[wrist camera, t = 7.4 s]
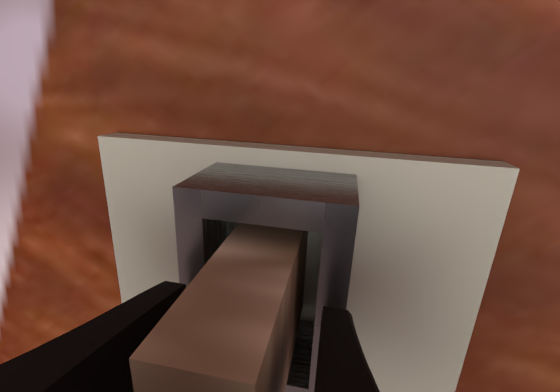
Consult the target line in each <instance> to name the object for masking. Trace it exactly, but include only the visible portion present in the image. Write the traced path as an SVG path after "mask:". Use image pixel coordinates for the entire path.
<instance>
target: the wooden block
mask: <svg viewBox="0 0 560 392" xmlns="http://www.w3.org/2000/svg"><path fill="white" fill-rule="evenodd" d="M307 241H308V231H303V230H295V229H286V228H278V227H270V226H261V225H253V224H245V223H238V225H237V226H236V227H235V228H234V230H233V231H232V232H231V233H230V235H229V236H228V237H227V238H226V239H225V241H224V242H223V243H222V244H221V246H220V247H219V248H218V249H217V251H216V252H215V253H214V254H213V255H212V257H211V258H210V259H209V260H208V262H207V263H206V264H205V265H204V267H203V268H202V269H201V270H200V271H199V273H198V274H197V275H196V276H195V278H194V279H193V280H192V281H191V283H190V284H189V285H188V286H187V287H186V289H185V290H184V291H183V292H182V294H181V295H180V296H179V297H178V299H177V300H176V301H175V302H174V303H173V305H172V306H171V307H170V308H169V310H168V311H167V312H166V313H165V315H164V316H163V317H162V318H161V319H160V321H159V322H158V323H157V324H156V326H155V327H154V328H153V329H152V331H151V332H150V333H149V334H148V335H147V337H146V338H145V339H144V340H143V342H142V343H141V344H140V345H139V347H138V348H137V349H136V350H135V351H134V353H133V354H132V355H131V356H130V358H129V362H130V369H131V376H132V383H133V390H134V392H285V389H286V384H287V380H288V375H289V370H290V365H291V360H292V356H293V351H294V346H295V341H296V336H297V332H298V327H299V322H300V317H301V312H302V308H303V295H304V282H305V268H306V255H307Z"/></svg>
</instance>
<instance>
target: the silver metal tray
mask: <svg viewBox="0 0 560 392" xmlns="http://www.w3.org/2000/svg"><path fill="white" fill-rule="evenodd" d="M172 189H173V203H174V217H175V230H176V244H177V258H178V271H179V283H182V284H186V287H187V286H188V285H189V284H190V283H191V281H192V280H193V279H194V278H195V276H196V275H197V274H198V273H199V271H200V270H201V269H202V268H203V267H204V265H205V264H206V263H207V262H208V260H209V259H210V258H211V257H212V255H213V254H214V253H215V252H216V251H217V249H218V248H219V247H220V246H221V244H222V243H223V242H224V241H225V239H226V238H227V237H228V236H229V235H230V233H231V232H232V231H233V230H234V228H235V227H236V226H237V225H238V223H245V224H253V225H261V226H270V227H278V228H286V229H295V230H303V231H311V232H319V233H323V235H322V246H321V257H320V268H319V279H318V290H317V301H316V312H315V322H314V321H308V320H302V319H300V322H299V327H298V332H297V336H296V341H295V346H294V351H293V356H292V360H291V365H290V370H289V375H288V380H287V384H286V389H285V392H314V388H315V378H316V368H317V358H318V348H319V338H320V327H321V319H322V311H323V306H325V307H332V308H338V309H344V310H346V307H347V300H348V292H349V284H350V276H351V268H352V261H353V253H354V245H355V237H356V229H357V222H358V214H359V196H358V186H357V175H356V174H345V173H333V172H322V171H310V170H299V169H287V168H276V167H265V166H253V165H242V164H230V163H219V162H216V163H214V164H212V165H210V166H209V167H207V168H205V169H203V170H201V171H200V172H198V173H196V174H194V175H192V176H191V177H189V178H187V179H185V180H184V181H182V182H180V183H178V184H176V185H175V186H173V187H172Z"/></svg>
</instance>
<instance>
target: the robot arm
mask: <svg viewBox="0 0 560 392" xmlns="http://www.w3.org/2000/svg"><path fill="white" fill-rule="evenodd" d="M185 289H186V284H182V283H176V282H169V281H164V282H162V283H160V284H157V285H155V286H153V287H151V288H150V289H148V290H146V291H144V292H142V293H140V294H138V295H136V296H135V297H133V298H131V299H129V300H127V301H125V302H124V303H122V304H120V305H118V306H116V307H114V308H113V309H111V310H109V311H107V312H105V313H103V314H101V315H100V316H98V317H96V318H94V319H92V320H90V321H88V322H87V323H85V324H83V325H81V326H79V327H77V328H75V329H73V330H71V331H69V332H67V333H65V334H63V335H61V336H59V337H57V338H55V339H53V340H51V341H49V342H47V343H45V344H43V345H41V346H39V347H37V348H35V349H33V350H31V351H29V352H27V353H24V354H22V355H20V356H18V357H16V358H14V359H11V360H9V361H7V362H5V363H2V364H0V392H134V390H133V383H132V376H131V369H130V362H129V358H130V356H131V355H132V354H133V353H134V351H135V350H136V349H137V348H138V347H139V345H140V344H141V343H142V342H143V340H144V339H145V338H146V337H147V335H148V334H149V333H150V332H151V331H152V329H153V328H154V327H155V326H156V324H157V323H158V322H159V321H160V319H161V318H162V317H163V316H164V315H165V313H166V312H167V311H168V310H169V308H170V307H171V306H172V305H173V303H174V302H175V301H176V300H177V299H178V297H179V296H180V295H181V294H182V292H183V291H184V290H185ZM314 392H380V391H379V389H378V386H377V384H376V382H375V379H374V377H373V375H372V373H371V370H370V368H369V366H368V363H367V361H366V358H365V355H364V353H363V350H362V347H361V345H360V342H359V339H358V336H357V333H356V330H355V326H354V322H353V318H352V314H351V313H350V312H349V311H348V310H344V309H338V308H332V307H325V306H323V311H322V319H321V327H320V338H319V348H318V358H317V368H316V378H315V388H314Z"/></svg>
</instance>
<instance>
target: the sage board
mask: <svg viewBox="0 0 560 392" xmlns="http://www.w3.org/2000/svg"><path fill="white" fill-rule="evenodd" d="M98 142H99V149H100V156H101V163H102V169H103V176H104V183H105V190H106V197H107V204H108V211H109V218H110V225H111V232H112V238H113V245H114V252H115V259H116V266H117V273H118V280H119V287H120V294H121V301H122V303H124V302H125V301H127V300H129V299H131V298H133V297H135V296H136V295H138V294H140V293H142V292H144V291H146V290H148V289H150V288H151V287H153V286H155V285H157V284H160V283H162V282H164V281H169V282H176V283H179V271H178V258H177V244H176V230H175V217H174V203H173V189H172V187H173V186H175V185H176V184H178V183H180V182H182V181H184V180H185V179H187V178H189V177H191V176H192V175H194V174H196V173H198V172H200V171H201V170H203V169H205V168H207V167H209V166H210V165H212V164H214V163H216V162H219V163H230V164H242V165H253V166H265V167H276V168H287V169H299V170H310V171H322V172H333V173H345V174H356V175H357V186H358V196H359V214H358V222H357V229H356V237H355V245H354V253H353V261H352V268H351V276H350V284H349V292H348V300H347V307H346V310H348V311H349V312H350V313H351V314H352V318H353V322H354V326H355V330H356V333H357V336H358V339H359V342H360V345H361V347H362V350H363V353H364V355H365V358H366V361H367V363H368V366H369V368H370V370H371V373H372V375H373V377H374V379H375V382H376V384H377V386H378V389H379V391H380V392H455V390H456V386H457V383H458V380H459V376H460V373H461V369H462V366H463V362H464V359H465V355H466V352H467V349H468V345H469V342H470V338H471V335H472V331H473V328H474V324H475V321H476V318H477V314H478V311H479V307H480V304H481V300H482V297H483V293H484V290H485V287H486V283H487V280H488V276H489V273H490V269H491V266H492V262H493V259H494V256H495V252H496V249H497V245H498V242H499V238H500V235H501V232H502V228H503V225H504V221H505V218H506V214H507V211H508V207H509V204H510V201H511V197H512V194H513V190H514V187H515V183H516V180H517V176H518V173H519V170H520V169H519V168H517V167H515V166H513V165H511V164H509V163H506V162H504V161H491V160H478V159H465V158H451V157H438V156H424V155H411V154H397V153H384V152H371V151H357V150H344V149H330V148H317V147H303V146H290V145H277V144H263V143H250V142H236V141H223V140H209V139H196V138H183V137H169V136H156V135H142V134H129V133H111V134H106V135H100V136H98ZM322 235H323V233H319V232H311V231H308V241H307V255H306V268H305V282H304V295H303V308H302V312H301V317H300V319H302V320H308V321H314V322H315V312H316V301H317V290H318V279H319V268H320V257H321V246H322Z"/></svg>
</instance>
